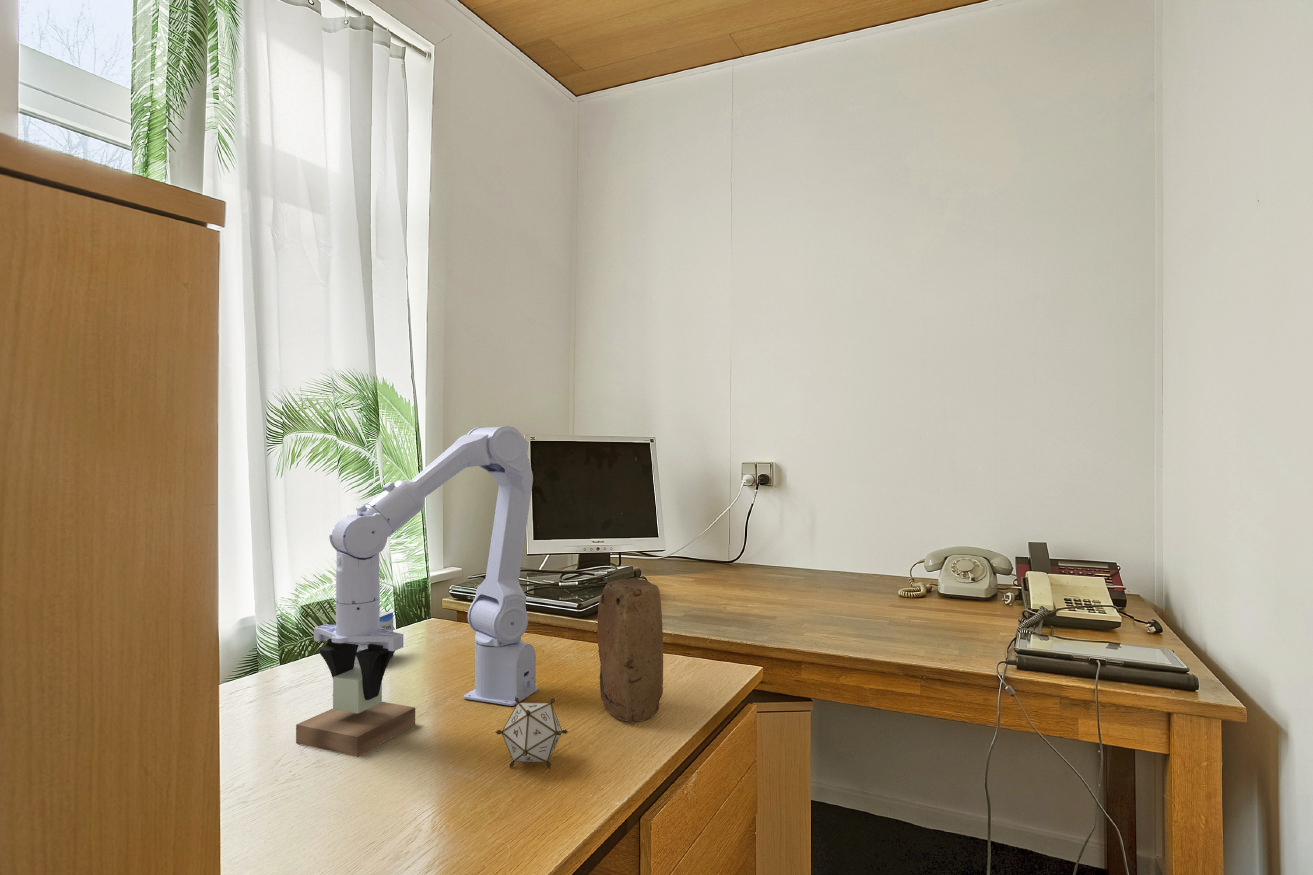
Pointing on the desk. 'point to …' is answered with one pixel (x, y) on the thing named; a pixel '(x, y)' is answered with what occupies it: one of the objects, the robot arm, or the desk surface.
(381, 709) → the walnut block
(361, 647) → the medicine box
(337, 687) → the sage block
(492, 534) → the robot arm
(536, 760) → the game die
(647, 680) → the block
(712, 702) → the desk surface
